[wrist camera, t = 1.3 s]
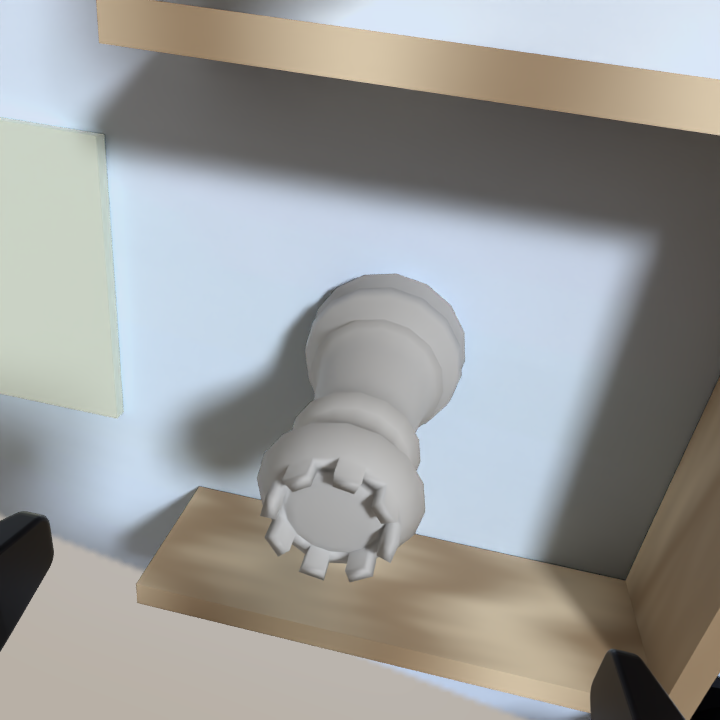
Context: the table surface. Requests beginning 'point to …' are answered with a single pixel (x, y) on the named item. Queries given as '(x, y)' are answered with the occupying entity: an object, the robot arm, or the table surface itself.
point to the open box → (429, 555)
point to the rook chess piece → (362, 425)
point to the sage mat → (57, 270)
